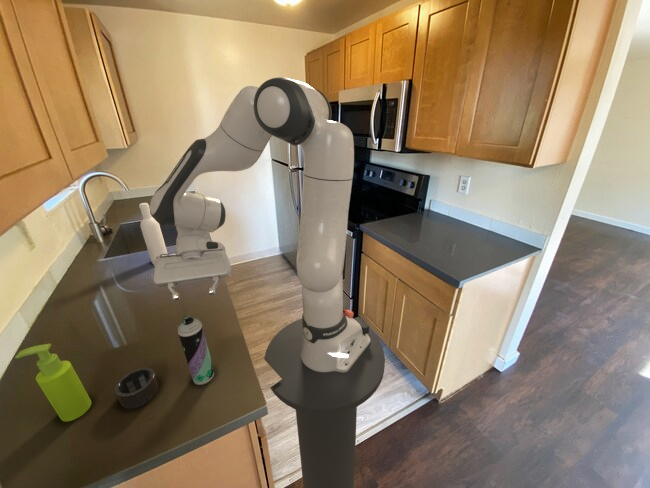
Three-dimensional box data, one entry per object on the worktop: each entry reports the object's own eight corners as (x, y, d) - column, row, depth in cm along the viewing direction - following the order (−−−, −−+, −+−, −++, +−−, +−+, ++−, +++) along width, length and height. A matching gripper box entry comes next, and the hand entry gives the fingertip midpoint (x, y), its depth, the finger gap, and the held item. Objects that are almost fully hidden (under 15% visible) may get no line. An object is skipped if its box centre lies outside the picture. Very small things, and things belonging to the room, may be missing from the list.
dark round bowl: (154, 374, 76) (149, 362, 74) (162, 394, 70) (157, 381, 69) (118, 392, 71) (112, 380, 69) (123, 416, 65) (117, 403, 63)
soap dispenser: (61, 404, 68) (23, 343, 60) (95, 395, 70) (62, 334, 62) (50, 427, 63) (7, 363, 55) (86, 416, 65) (50, 353, 57)
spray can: (189, 385, 73) (170, 325, 64) (197, 368, 78) (180, 310, 69) (210, 384, 73) (193, 324, 65) (217, 367, 78) (202, 309, 70)
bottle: (153, 259, 142) (135, 202, 130) (170, 256, 144) (154, 200, 132) (150, 265, 135) (131, 206, 123) (168, 263, 138) (151, 204, 125)
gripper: (149, 251, 76) (148, 301, 71) (227, 242, 80) (230, 288, 75) (158, 258, 81) (158, 305, 77) (230, 249, 86) (234, 293, 81)
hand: (194, 296), depth 76 cm, fingers open, 8 cm apart
